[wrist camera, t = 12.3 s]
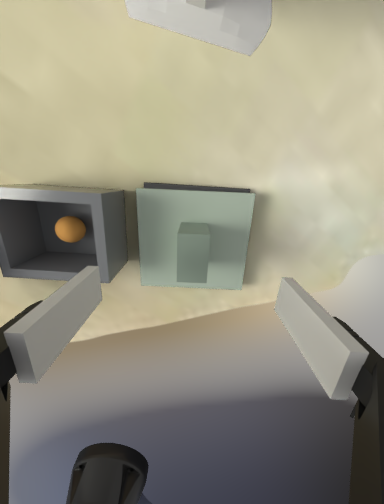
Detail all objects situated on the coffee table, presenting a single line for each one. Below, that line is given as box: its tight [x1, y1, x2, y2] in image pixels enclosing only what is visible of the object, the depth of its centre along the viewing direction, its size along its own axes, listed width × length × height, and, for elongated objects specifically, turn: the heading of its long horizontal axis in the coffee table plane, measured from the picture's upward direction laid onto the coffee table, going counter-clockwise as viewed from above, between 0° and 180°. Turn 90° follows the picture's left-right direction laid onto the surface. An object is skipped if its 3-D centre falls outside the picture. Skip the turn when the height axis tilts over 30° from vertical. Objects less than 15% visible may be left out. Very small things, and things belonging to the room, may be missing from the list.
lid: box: [136, 188, 255, 290], centre depth 22 cm, size 12×13×6 cm
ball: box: [55, 216, 86, 243], centre depth 23 cm, size 3×3×3 cm
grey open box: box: [0, 184, 128, 283], centre depth 22 cm, size 9×11×6 cm
